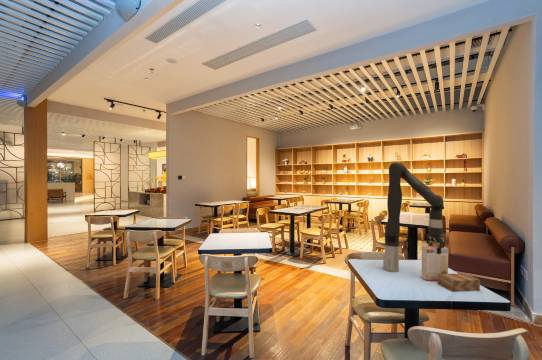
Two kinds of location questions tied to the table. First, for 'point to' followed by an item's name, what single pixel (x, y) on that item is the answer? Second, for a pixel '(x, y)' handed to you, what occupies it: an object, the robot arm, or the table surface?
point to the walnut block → (458, 282)
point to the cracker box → (434, 262)
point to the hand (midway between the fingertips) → (434, 252)
